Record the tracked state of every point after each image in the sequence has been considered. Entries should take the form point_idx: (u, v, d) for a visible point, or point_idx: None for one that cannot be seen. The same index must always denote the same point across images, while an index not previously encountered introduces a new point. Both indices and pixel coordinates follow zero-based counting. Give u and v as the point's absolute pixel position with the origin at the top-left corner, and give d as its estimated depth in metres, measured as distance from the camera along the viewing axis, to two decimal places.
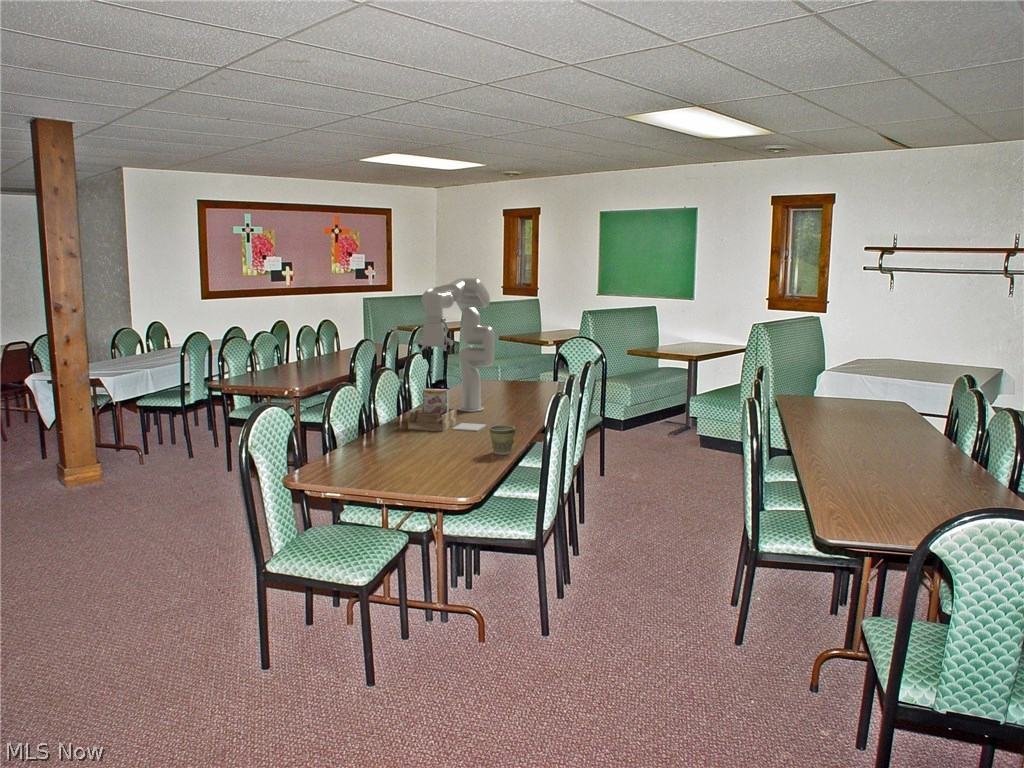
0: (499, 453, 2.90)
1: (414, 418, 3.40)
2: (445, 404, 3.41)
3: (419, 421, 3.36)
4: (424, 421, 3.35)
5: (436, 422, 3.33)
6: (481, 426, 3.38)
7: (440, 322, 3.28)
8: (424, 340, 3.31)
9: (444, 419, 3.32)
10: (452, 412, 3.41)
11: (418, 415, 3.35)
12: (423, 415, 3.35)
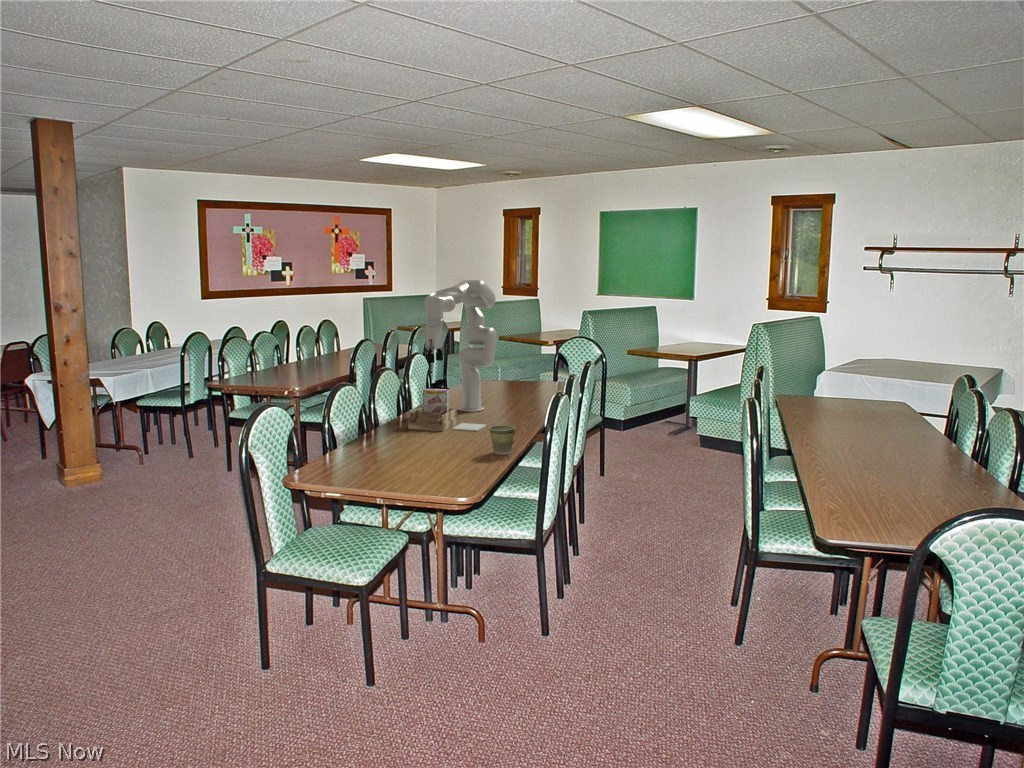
0: (499, 453, 2.90)
1: (414, 418, 3.40)
2: (445, 404, 3.41)
3: (419, 421, 3.36)
4: (424, 421, 3.35)
5: (437, 422, 3.33)
6: (481, 426, 3.38)
7: None
8: (435, 343, 3.36)
9: (444, 419, 3.32)
10: (452, 412, 3.41)
11: (419, 415, 3.35)
12: (424, 415, 3.35)
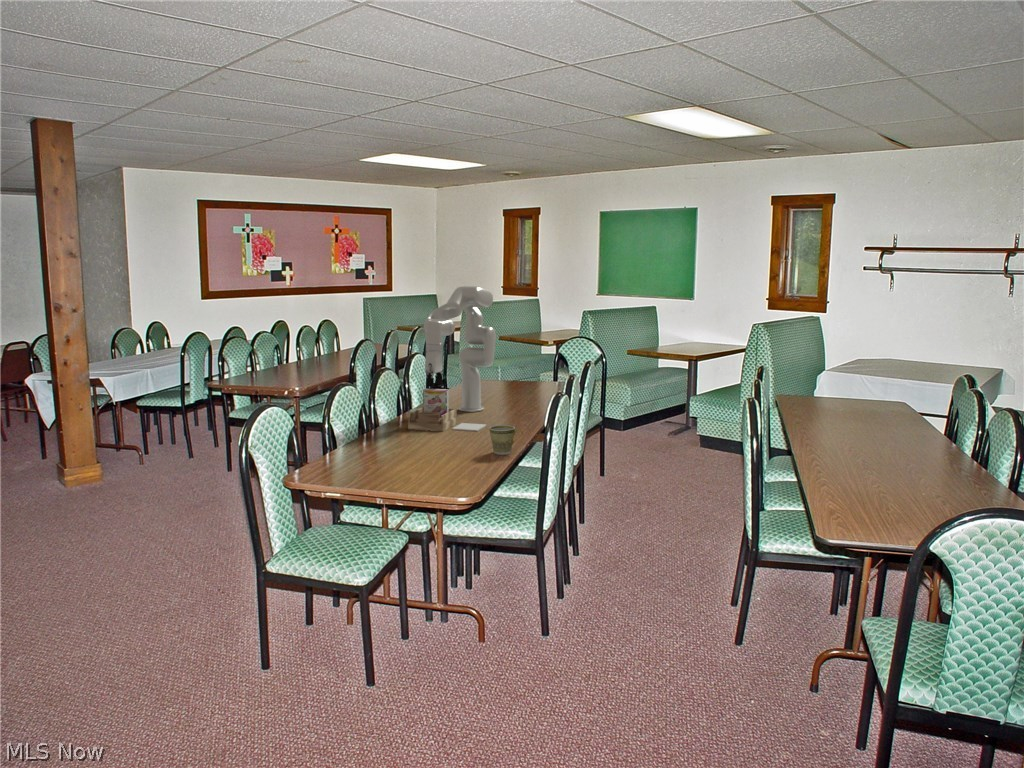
0: (499, 453, 2.90)
1: (414, 418, 3.40)
2: (445, 404, 3.41)
3: (419, 421, 3.36)
4: (424, 421, 3.35)
5: (437, 422, 3.34)
6: (481, 426, 3.38)
7: None
8: (435, 367, 3.36)
9: (444, 419, 3.32)
10: (452, 412, 3.41)
11: (419, 415, 3.34)
12: (424, 415, 3.34)
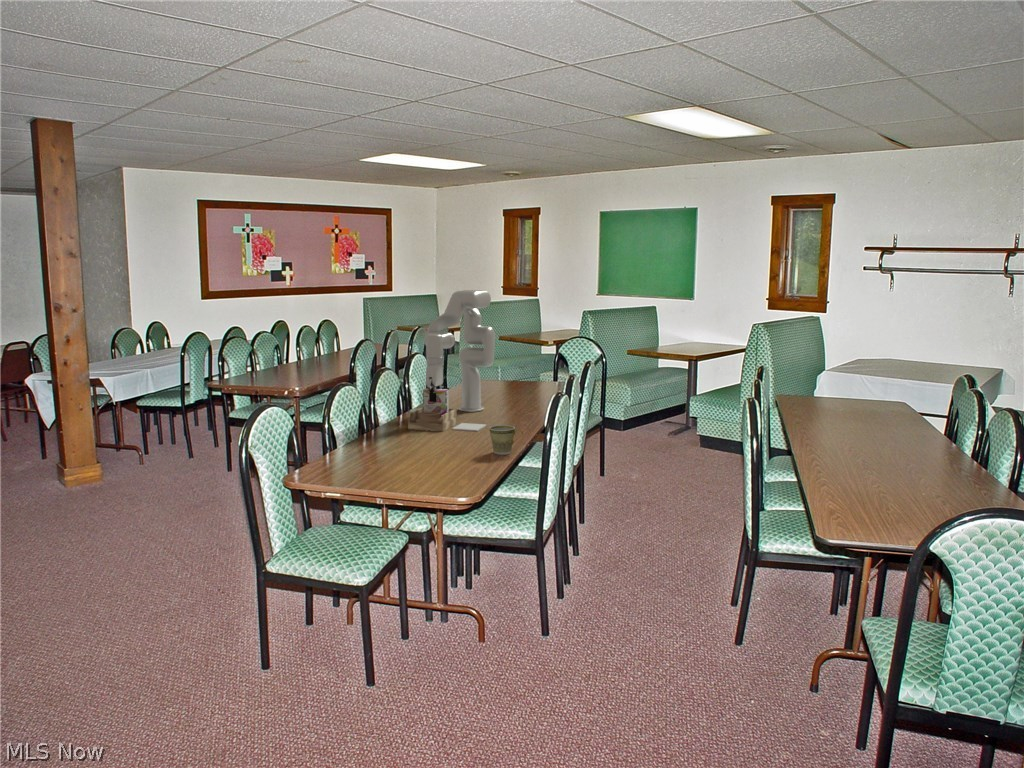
0: (499, 453, 2.90)
1: (414, 418, 3.40)
2: (445, 404, 3.41)
3: (419, 421, 3.35)
4: (425, 421, 3.35)
5: (438, 421, 3.34)
6: (481, 426, 3.38)
7: None
8: (436, 381, 3.37)
9: (444, 419, 3.32)
10: (452, 412, 3.41)
11: (420, 415, 3.34)
12: (426, 415, 3.34)
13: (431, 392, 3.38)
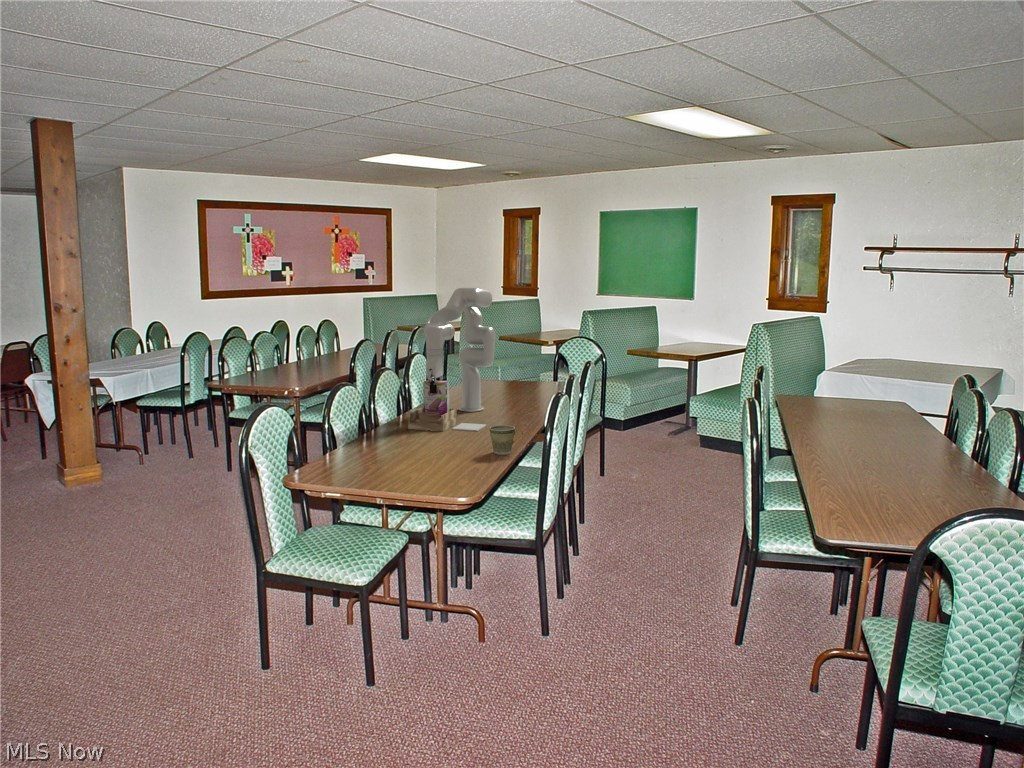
0: (499, 453, 2.90)
1: (414, 418, 3.40)
2: (445, 396, 3.40)
3: (419, 421, 3.35)
4: (424, 421, 3.35)
5: (437, 421, 3.34)
6: (481, 426, 3.38)
7: None
8: (436, 373, 3.37)
9: (444, 419, 3.32)
10: (452, 412, 3.41)
11: (420, 416, 3.34)
12: (425, 415, 3.34)
13: (431, 384, 3.38)
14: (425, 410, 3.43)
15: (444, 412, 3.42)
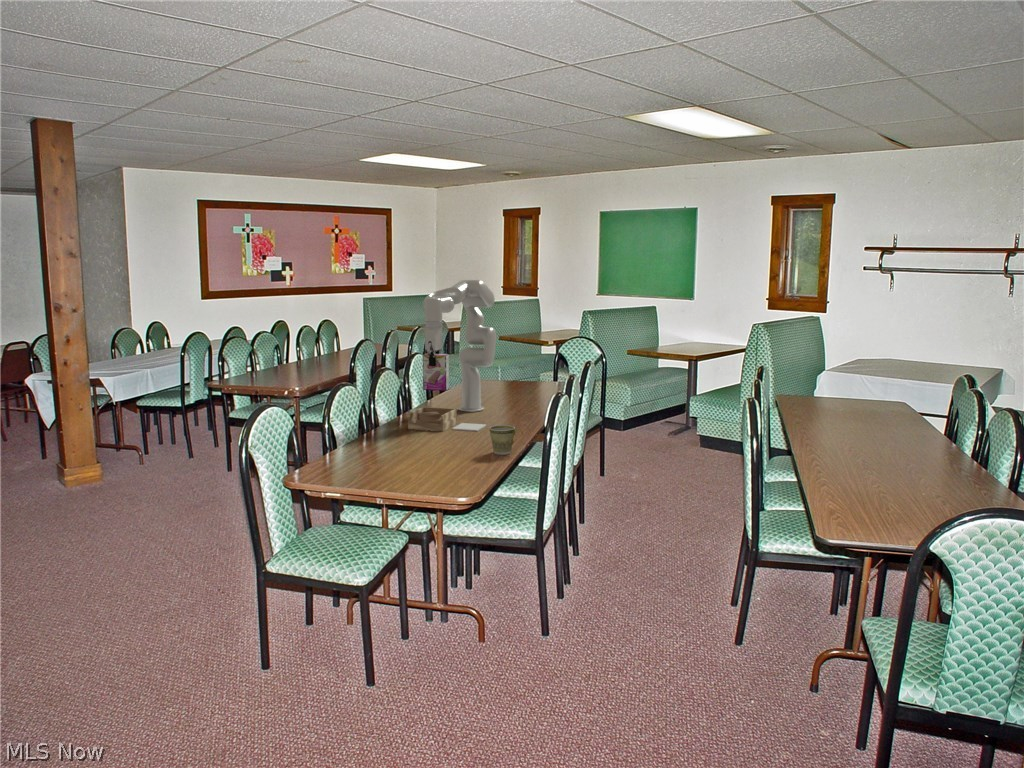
0: (499, 453, 2.90)
1: (414, 418, 3.40)
2: (444, 369, 3.38)
3: (419, 421, 3.35)
4: (424, 421, 3.35)
5: (437, 421, 3.34)
6: (481, 426, 3.38)
7: None
8: (435, 345, 3.35)
9: (444, 419, 3.32)
10: (452, 412, 3.41)
11: (421, 416, 3.33)
12: (426, 415, 3.34)
13: (431, 356, 3.36)
14: (424, 383, 3.41)
15: (443, 385, 3.40)
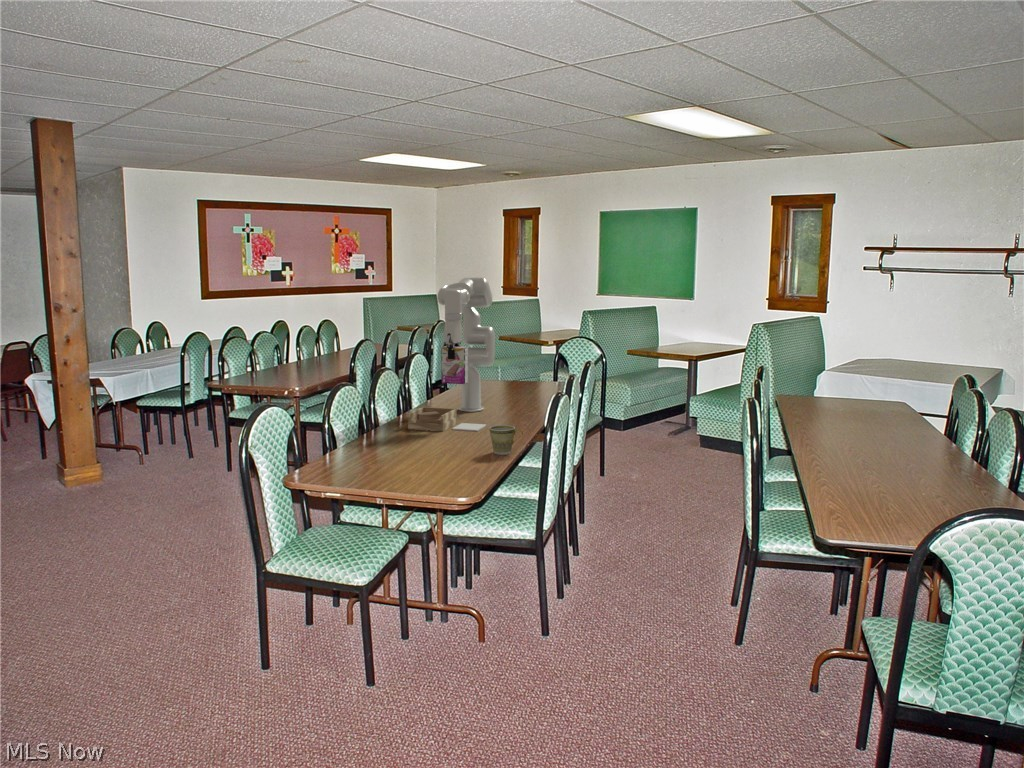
0: (499, 453, 2.90)
1: (414, 418, 3.40)
2: (463, 362, 3.33)
3: (419, 421, 3.35)
4: (424, 421, 3.35)
5: (437, 421, 3.34)
6: (481, 426, 3.38)
7: None
8: (454, 337, 3.30)
9: (444, 419, 3.32)
10: (452, 412, 3.41)
11: (421, 416, 3.33)
12: (426, 415, 3.34)
13: (449, 349, 3.31)
14: (443, 376, 3.36)
15: (462, 378, 3.35)
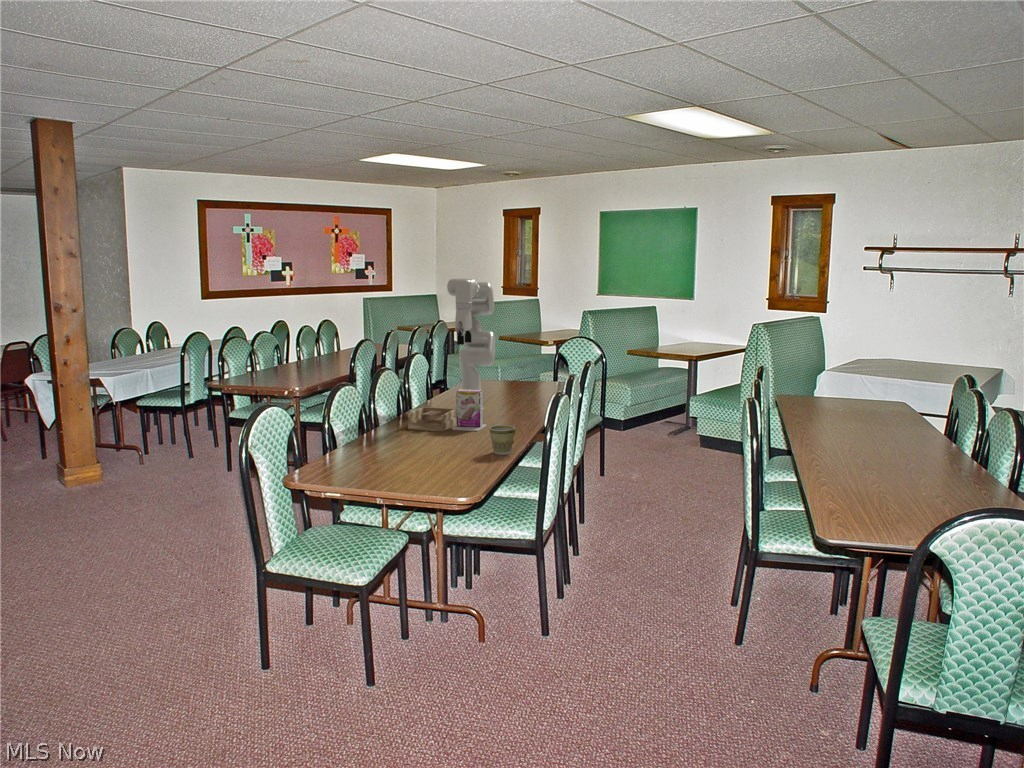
0: (499, 453, 2.90)
1: (414, 418, 3.40)
2: (478, 405, 3.34)
3: (419, 421, 3.36)
4: (425, 420, 3.35)
5: (438, 421, 3.34)
6: (481, 426, 3.38)
7: None
8: (465, 325, 3.44)
9: (444, 419, 3.32)
10: (452, 412, 3.41)
11: (431, 416, 3.33)
12: (434, 415, 3.35)
13: (459, 334, 3.43)
14: (458, 420, 3.37)
15: (477, 422, 3.35)
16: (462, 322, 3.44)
